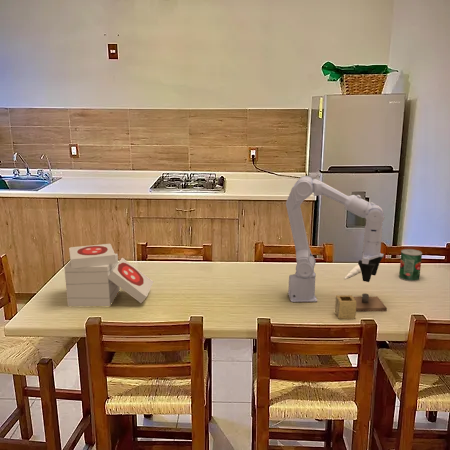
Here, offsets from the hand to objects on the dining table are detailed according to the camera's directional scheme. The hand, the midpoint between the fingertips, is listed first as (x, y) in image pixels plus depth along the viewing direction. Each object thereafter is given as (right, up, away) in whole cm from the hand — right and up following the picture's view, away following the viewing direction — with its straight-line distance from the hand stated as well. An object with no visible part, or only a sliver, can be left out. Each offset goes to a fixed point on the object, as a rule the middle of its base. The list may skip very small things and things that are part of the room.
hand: (369, 278), depth 170 cm
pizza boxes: (-92, -8, +8) cm, 93 cm away
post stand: (-1, -10, +1) cm, 10 cm away
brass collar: (-10, -12, -7) cm, 17 cm away
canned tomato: (+24, -3, +28) cm, 37 cm away
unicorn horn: (+6, -2, +35) cm, 36 cm away
